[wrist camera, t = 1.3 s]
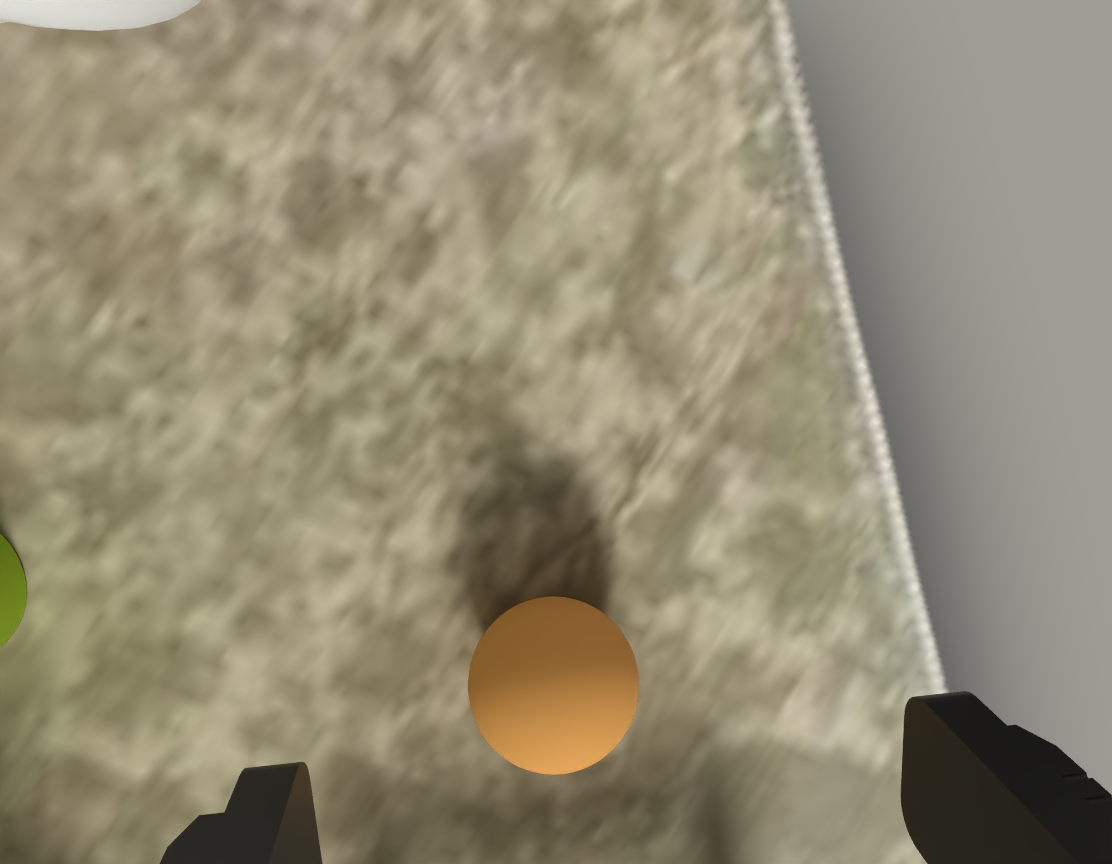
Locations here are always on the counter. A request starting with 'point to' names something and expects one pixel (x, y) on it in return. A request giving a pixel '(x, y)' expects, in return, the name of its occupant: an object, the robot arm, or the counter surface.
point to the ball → (553, 685)
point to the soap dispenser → (10, 590)
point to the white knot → (92, 13)
